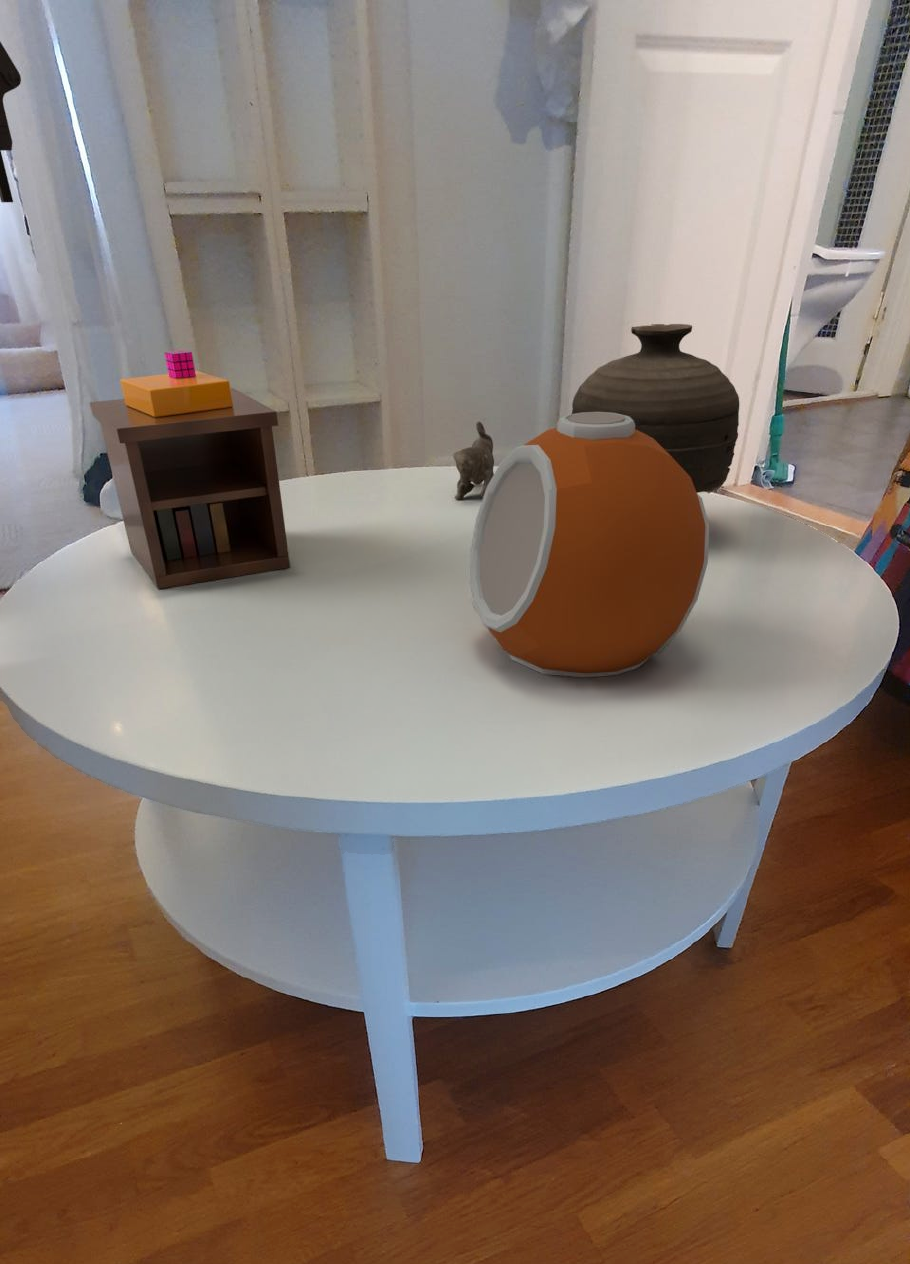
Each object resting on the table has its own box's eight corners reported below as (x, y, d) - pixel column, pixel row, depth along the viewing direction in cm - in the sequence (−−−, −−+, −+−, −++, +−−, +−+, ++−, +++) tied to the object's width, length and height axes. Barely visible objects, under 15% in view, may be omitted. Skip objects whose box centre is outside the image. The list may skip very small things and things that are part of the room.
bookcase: (154, 592, 91) (116, 428, 82) (125, 551, 101) (89, 402, 92) (296, 568, 96) (276, 411, 86) (255, 531, 106) (233, 388, 97)
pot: (526, 518, 106) (550, 308, 93) (651, 512, 113) (690, 316, 100) (608, 565, 94) (649, 333, 81) (743, 556, 101) (801, 339, 88)
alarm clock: (445, 624, 83) (440, 405, 72) (617, 598, 87) (637, 388, 76) (527, 710, 69) (536, 456, 58) (726, 675, 74) (771, 432, 62)
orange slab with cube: (233, 407, 88) (225, 355, 86) (155, 418, 85) (144, 364, 82) (201, 396, 93) (192, 346, 91) (125, 405, 90) (114, 354, 87)
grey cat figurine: (459, 483, 122) (458, 419, 117) (502, 484, 121) (503, 420, 116) (444, 507, 113) (442, 439, 108) (490, 508, 112) (490, 440, 107)
